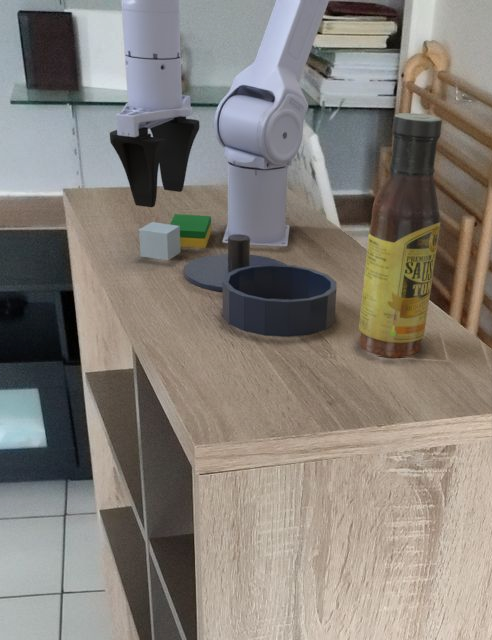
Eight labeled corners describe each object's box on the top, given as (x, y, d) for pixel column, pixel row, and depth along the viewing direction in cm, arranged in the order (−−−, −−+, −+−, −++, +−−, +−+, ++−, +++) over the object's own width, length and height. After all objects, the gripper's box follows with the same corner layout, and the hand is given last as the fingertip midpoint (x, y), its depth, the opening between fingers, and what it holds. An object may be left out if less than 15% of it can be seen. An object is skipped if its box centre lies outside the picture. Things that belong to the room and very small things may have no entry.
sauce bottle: (403, 368, 83) (433, 126, 70) (345, 351, 85) (364, 115, 73) (433, 347, 87) (467, 116, 75) (377, 332, 90) (400, 106, 77)
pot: (228, 299, 95) (228, 261, 93) (333, 305, 95) (336, 267, 93) (218, 338, 86) (218, 297, 84) (334, 344, 87) (337, 304, 84)
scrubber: (175, 234, 113) (174, 213, 111) (211, 236, 113) (211, 216, 112) (168, 250, 107) (167, 229, 106) (205, 252, 108) (205, 231, 106)
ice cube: (153, 253, 106) (152, 221, 104) (180, 257, 106) (179, 225, 104) (140, 261, 104) (138, 229, 102) (168, 265, 103) (167, 233, 101)
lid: (190, 260, 105) (189, 219, 102) (294, 266, 105) (296, 225, 102) (177, 295, 95) (175, 250, 92) (291, 301, 95) (293, 257, 93)
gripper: (159, 67, 86) (165, 217, 94) (215, 52, 97) (216, 188, 105) (92, 60, 87) (105, 209, 96) (155, 46, 98) (161, 180, 107)
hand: (159, 197), depth 101 cm, fingers open, 7 cm apart
